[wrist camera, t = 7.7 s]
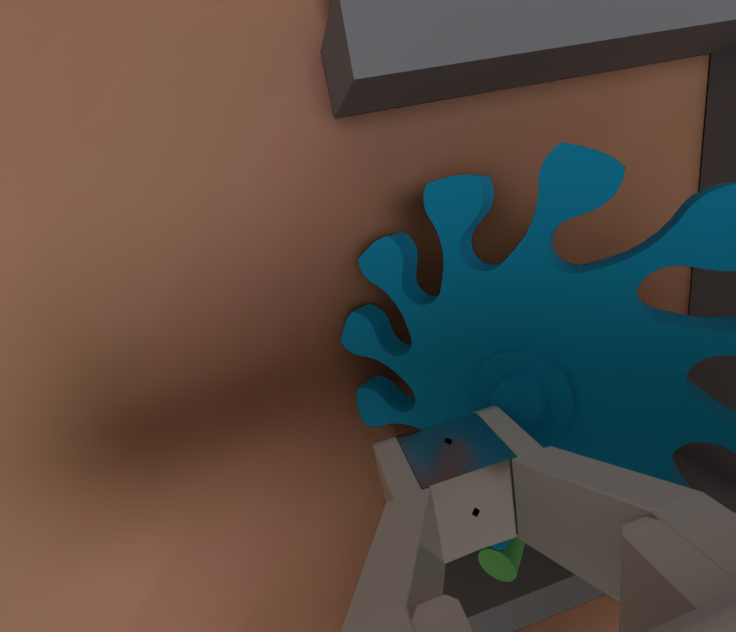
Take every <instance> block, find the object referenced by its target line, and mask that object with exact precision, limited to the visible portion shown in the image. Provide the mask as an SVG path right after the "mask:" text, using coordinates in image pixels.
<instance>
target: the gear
mask: <svg viewBox="0 0 736 632" xmlns="http://www.w3.org/2000/svg"><path fill="white" fill-rule="evenodd" d="M624 171H625V166H623V165H622V164H621V163H620V162H618V161H617V160H616V159H615V158H613V157H611V156H609V155H607V154H605V153H603V152H600V151H597V150H594V149H590V148H587V147H583V146H578V145H572V144H567V143H560V144H559V145H558V146H557V147H555V148H554V149H553V150H552V151H551V152H550V153H549V155H548V156H547V157H546V158H545V160H544V162H543V165H542V167H541V169H540V174H539V195H538V201H537V207H536V211H535V214H534V217H533V220H532V223H531V225H530V227H529V229H528V231H527V233H526V235H525V237H524V238H523V239H522V241H521V242H520V243H519V245H518V246H517V247H516V249H515V250H514V251H513V252H512V253H511V254H510V255H509V256H508V258H507V259H506V260H505V261H504V262H502V263H499V264H489V263H485V262H483V261H481V260H480V259H479V258H478V257H477V256H476V255H475V253H474V251H473V249H472V244H471V241H472V235H473V232H474V231H475V229H476V227H477V226H478V225H479V224H480V222H481V221H482V220H483V219H484V217H485V216H486V215H487V213H488V212H489V210H490V209H491V206H492V204H493V199H494V187H493V184H492V181H491V179H490V178H489V176H485V175H455V176H450V177H446V178H442V179H439V180H436V181H434V182H431V183H428V184H427V185H426V188H425V191H424V198H423V201H424V208H425V210H426V213H427V215H428V217H429V218H430V220H431V222H432V223H433V225H434V227H435V229H436V231H437V233H438V236H439V239H440V242H441V246H442V251H443V261H444V263H443V277H442V284H441V290H440V294H439V296H432V295H429V294H427V293H425V292H424V291H423V290H422V289H421V288H420V287H419V285H418V283H417V279H416V270H417V261H418V252H417V248H416V245H415V243H414V241H413V240H412V238H411V237H410V236H409V235H408V234H406V233H404V232H400V233H396V234H392V235H388V236H386V237H383V238H381V239H379V240H377V241H376V242H374V243H373V244H372V245H371V246H370V247H369V248H368V249H367V250H366V251H365V252H364V253H363V254H362V256H361V257H360V258H359V259H358V261H359V266H360V269H361V271H362V273H363V274H364V276H365V277H366V278H367V279H368V280H369V281H370V282H372V283H374V284H375V285H377V286H378V287H380V288H381V289H382V290H383V291H384V292H386V293H387V294H388V295H389V297H390V298H391V299H392V300H393V301H394V302H395V304H396V305H397V307H398V308H399V310H400V312H401V314H402V316H403V318H404V320H405V323H406V325H407V328H408V330H409V333H410V336H411V345H408V344H405V343H403V342H401V341H400V340H399V339H398V338H397V337H396V336H395V334H394V332H393V329H392V327H391V324H390V322H389V319H388V317H387V315H386V314H385V313H384V311H382V310H381V309H380V308H379V307H377V306H375V305H372V304H367V305H365V306H363V307H361V308H359V309H357V310H355V311H353V312H352V313H351V314H350V315H349V317H348V318H347V320H346V323H345V326H344V329H343V334H342V340H341V343H342V344H343V345H344V347H345V348H346V349H347V350H348V351H350V352H351V353H353V354H355V355H358V356H366V357H369V358H373V359H375V360H377V361H379V362H381V363H383V364H385V365H386V366H388V367H389V368H391V369H392V370H393V371H394V372H395V373H396V374H398V375H399V376H400V377H401V378H402V379H403V380H404V381H405V382H406V383H407V384H408V385H409V386H410V388H411V389H412V391H413V392H414V395H415V398H412V397H409V396H408V395H406V394H405V393H403V392H402V391H401V390H400V389H399V388H398V387H397V386H396V385H395V384H394V383H393V382H392V381H391V380H390V379H388V378H386V377H383V376H374V377H372V378H370V379H369V380H368V381H367V382H366V383H364V384H363V385H362V386H361V387H359V388H358V389H357V404H358V409H359V413H360V416H361V420H362V421H363V422H364V423H365V424H367V425H369V426H372V427H381V426H383V425H386V424H393V423H396V424H405V425H410V426H413V427H416V428H418V429H423V428H427V427H430V426H434V425H437V424H442V423H445V422H448V421H451V420H454V419H457V418H460V417H463V416H467V415H470V414H473V412H476V411H479V410H482V409H485V408H488V407H490V406H493V405H494V406H497V407H499V408H500V409H501V410H502V411H503V412H504V413H505V414H507V415H508V416H509V417H510V418H511V419H512V420H513V421H514V422H515V423H516V424H518V425H519V426H520V427H521V428H522V429H523V430H524V431H525V432H526V433H528V434H529V435H530V436H531V437H532V438H533V439H534V440H535V441H536V442H538V443H539V444H540V445H541V446H542V447H543V448H546V447H549V446H552V447H555V448H559V449H562V450H565V451H569V452H572V453H575V454H578V455H582V456H585V457H588V458H592V459H595V460H598V461H602V462H605V463H608V464H612V465H615V466H618V467H622V468H625V469H628V470H632V471H635V472H638V473H641V474H645V475H648V476H651V477H655V478H658V479H661V480H665V481H668V482H671V483H675V484H678V485H681V486H685V487H688V488H691V489H693V488H692V487H691V486H690V485H689V484H688V483H687V482H686V481H685V479H684V478H683V477H682V475H681V474H680V472H679V471H678V469H677V467H676V465H675V463H674V460H673V458H672V455H673V453H674V452H675V450H677V449H678V448H679V447H681V446H683V445H686V444H689V443H694V442H706V443H713V444H716V445H720V446H723V447H725V448H727V449H729V450H731V451H732V452H734V453H735V454H736V411H735V410H733V409H731V408H729V407H727V406H725V405H723V404H721V403H720V402H718V401H717V400H715V399H714V398H712V397H711V396H709V395H708V394H706V393H705V392H704V391H703V390H701V389H700V388H699V387H698V386H696V385H695V384H694V383H693V382H692V381H690V380H689V379H688V378H687V377H686V375H687V373H688V371H689V370H690V368H691V367H692V366H693V365H694V364H696V363H698V362H699V361H701V360H703V359H706V358H709V357H713V356H719V355H732V356H736V316H732V317H698V316H691V315H683V314H678V313H673V312H668V311H663V310H659V309H655V308H652V307H650V306H648V305H646V304H644V303H643V302H642V301H641V300H640V299H639V297H638V296H637V294H636V292H637V289H638V287H639V285H640V283H641V282H642V281H643V279H644V278H645V277H647V276H648V275H649V274H650V273H652V272H654V271H656V270H658V269H661V268H664V267H668V266H676V265H677V266H689V267H696V268H702V269H709V270H716V271H735V270H736V182H728V183H722V184H716V185H713V186H711V187H708V188H705V189H703V190H701V191H699V192H697V193H696V194H694V195H692V196H691V197H690V198H689V199H688V200H687V201H685V202H684V203H683V204H682V205H681V207H680V208H679V209H678V211H677V212H676V213H675V215H674V216H673V217H672V218H671V220H669V221H668V222H667V223H666V224H665V225H664V226H663V227H662V228H661V229H660V230H659V231H658V232H657V233H655V234H654V235H653V236H651V237H650V238H648V239H647V240H646V241H644V242H643V243H641V244H639V245H637V246H636V247H634V248H632V249H630V250H628V251H626V252H623V253H621V254H618V255H615V256H612V257H610V258H606V259H603V260H599V261H596V262H592V263H589V264H584V265H574V264H570V263H567V262H565V261H563V260H562V259H561V258H560V257H558V255H557V254H556V253H555V251H554V248H553V241H552V240H553V235H554V232H555V230H556V228H557V227H558V226H559V224H560V223H562V222H564V221H566V220H568V219H571V218H574V217H576V216H579V215H582V214H584V213H587V212H590V211H592V210H594V209H597V208H599V207H600V206H602V205H603V204H605V203H606V202H607V201H609V199H610V198H611V197H612V196H613V195H614V194H615V193H616V191H617V190H618V188H619V187H620V185H621V182H622V180H623V177H624ZM524 545H525V542H523V541H521V540H520V539H519V537H515V538H512V539H509V540H506V541H503V542H500V543H497V544H494V545H491V546H488V547H485V548H483V549H480V552H479V555H478V559H479V563H480V565H481V566H482V568H483V569H484V570H485V571H486V572H487V573H488V574H489V575H490V576H492V577H494V578H495V579H498V580H500V581H504V582H511V581H513V580H514V579H515V578H516V576H517V572H518V568H519V564H520V561H521V557H522V553H523V549H524ZM560 566H561V565H560ZM562 567H563V566H562Z"/></svg>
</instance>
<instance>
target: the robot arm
mask: <svg viewBox="0 0 736 632" xmlns="http://www.w3.org/2000/svg"><path fill="white" fill-rule="evenodd" d="M373 452H374V457H375V461H376V465H377V470H378V474H379V478H380V483H381V487H382V491H383V494H384V498H385V502H386V503H385V506H384V509H383V512H382V515H381V517H380V520H379V523H378V526H377V529H376V532H375V535H374V537H373V540H372V543H371V546H370V549H369V552H368V554H367V557H366V560H365V563H364V566H363V569H362V572H361V574H360V577H359V580H358V583H357V586H356V589H355V592H354V594H353V597H352V600H351V603H350V606H349V609H348V612H347V614H346V617H345V620H344V623H343V626H342V629H341V632H473V630H472V628H471V626H470V624H469V622H468V619H467V617H466V615H465V613H464V611H463V609H462V606H461V604H460V602H459V600H458V599H455V598H453V597H450V596H448V595H445V594H444V595H443V585H444V575H445V564H446V563H448V562H451V561H453V560H455V559H458V558H460V557H463V556H465V555H468V554H470V553H472V552H475V551H477V550H480V549H483V548H485V547H488V546H491V545H494V544H497V543H500V542H503V541H506V540H509V539H512V538H515V537H519V539H520V540H521V541H523V542H525V543H526V544H528V545H529V546H531V547H532V548H534V549H536V550H537V551H539V552H540V553H542V554H544V555H545V556H547V557H548V558H550V559H551V560H553V561H555V562H556V563H558V564H559V565H561V566H563V567H564V568H566V569H567V570H569V571H571V572H572V573H574V574H575V575H577V576H578V577H580V578H582V579H583V580H585V581H586V582H588V583H590V584H591V585H593V586H594V587H596V588H597V589H599V590H601V591H602V592H604V593H605V594H607V595H609V596H610V597H612V598H613V599H615V600H616V601H618V602H620V620H619V632H736V514H735V513H733V512H732V511H730V510H729V509H727V508H726V507H724V506H723V505H722V504H720V503H719V502H717V501H716V500H714V499H713V498H711V497H710V496H708V495H707V494H705V493H704V492H701V491H698V490H695V489H691V488H688V487H685V486H681V485H678V484H675V483H671V482H668V481H665V480H661V479H658V478H655V477H651V476H648V475H645V474H641V473H638V472H635V471H632V470H628V469H625V468H622V467H618V466H615V465H612V464H608V463H605V462H602V461H598V460H595V459H592V458H588V457H585V456H582V455H578V454H575V453H572V452H569V451H565V450H562V449H559V448H555V447H552V446H549V447H546V448H543V447H542V446H541V445H540V444H539V443H538V442H536V441H535V440H534V439H533V438H532V437H531V436H530V435H529V434H528V433H526V432H525V431H524V430H523V429H522V428H521V427H520V426H519V425H518V424H516V423H515V422H514V421H513V420H512V419H511V418H510V417H509V416H508V415H507V414H505V413H504V412H503V411H502V410H501V409H500V408H499V407H497V406H494V405H493V406H490V407H488V408H485V409H482V410H479V411H476V412H473V414H470V415H467V416H463V417H460V418H457V419H454V420H451V421H448V422H445V423H442V424H437V425H434V426H430V427H427V428H423V429H420V430H417V431H413V432H410V433H406V434H403V435H399V436H396V437H393V438H390V439H386V440H383V441H380V442H377V443H373Z"/></svg>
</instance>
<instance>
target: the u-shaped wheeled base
mask: <svg viewBox="0 0 736 632" xmlns="http://www.w3.org/2000/svg"><path fill="white" fill-rule="evenodd" d="M705 54H711V61H710V73H709V84H708V96H707V108H706V120H705V131H704V143H703V155H702V167H701V178H700V190H699V191H701V190H703V189H705V188H708V187H711V186H713V185H716V184H722V183H728V182H736V0H332V3H331V8H330V13H329V17H328V22H327V26H326V31H325V35H324V40H323V45H322V49H321V56H322V61H323V66H324V71H325V76H326V81H327V86H328V91H329V96H330V101H331V106H332V111H333V116H334V118H339V117H345V116H351V115H357V114H362V113H368V112H374V111H380V110H386V109H391V108H397V107H403V106H409V105H415V104H420V103H426V102H432V101H438V100H444V99H450V98H455V97H461V96H467V95H473V94H479V93H484V92H490V91H496V90H502V89H508V88H513V87H519V86H525V85H531V84H537V83H542V82H548V81H554V80H560V79H566V78H572V77H577V76H583V75H589V74H595V73H601V72H606V71H612V70H618V69H624V68H630V67H635V66H641V65H647V64H653V63H659V62H665V61H670V60H676V59H682V58H688V57H694V56H699V55H705ZM689 315H691V316H698V317H732V316H736V270H735V271H716V270H709V269H702V268H696V267H693V272H692V284H691V296H690V308H689ZM686 377H687V378H688V379H689V380H690V381H692V382H693V383H694V384H695V385H696V386H698V387H699V388H700V389H701V390H703V391H704V392H705V393H706V394H708V395H709V396H711V397H712V398H714V399H715V400H717V401H718V402H720V403H721V404H723V405H725V406H727V407H729V408H731V409H733V410H735V411H736V356H732V355H719V356H713V357H709V358H706V359H703V360H701V361H699V362H698V363H696V364H694V365H693V366H692V367H691V368H690V370H689V371H688V373H687V375H686ZM672 458H673V460H674V463H675V465H676V467H677V469H678V471H679V472H680V474H681V475H682V477H683V478H684V479H685V481H686V482H687V483H688V484H689V485H690V486H691V487H692V488H693V489H695V490H698V491H701V492H704V493H705V494H707V495H708V496H710V497H711V498H713V499H714V500H716V501H717V502H719V503H720V504H722V505H723V506H724V507H726V508H727V509H729V510H730V511H732V512H733V513H735V514H736V454H735V453H734V452H732V451H731V450H729V449H727V448H725V447H723V446H720V445H716V444H713V443H706V442H694V443H689V444H686V445H683V446H681V447H679V448H678V449H677V450H676V451H675V452H674V453H673V455H672ZM479 552H480V550H477V551H475V552H472V553H470V554H468V555H465V556H463V557H460V558H458V559H455V560H453V561H451V562H448V563H446V564H445V575H444V585H443V595H444V594H445V595H448V596H450V597H453V598H455V599H458V600H459V602H460V604H461V606H462V609H463V611H464V613H465V615H466V617H467V619H468V622H469V624H470V626H471V628H472V630H473V632H515V631H517V630H520V629H522V628H525V627H527V626H530V625H532V624H534V623H537V622H539V621H542V620H544V619H547V618H549V617H552V616H554V615H556V614H559V613H561V612H564V611H566V610H569V609H571V608H573V607H576V606H578V605H581V604H583V603H586V602H588V601H590V600H593V599H595V598H598V597H600V596H603V595H605V593H604V592H602V591H601V590H599V589H597V588H596V587H594V586H593V585H591V584H590V583H588V582H586V581H585V580H583V579H582V578H580V577H578V576H577V575H575V574H574V573H572V572H571V571H569V570H567V569H566V568H564V567H562V566H560V565H559V564H558V563H556V562H555V561H553V560H551V559H550V558H548V557H547V556H545V555H544V554H542V553H540V552H539V551H537V550H536V549H534V548H532V547H531V546H529V545H528V544H526V543H525V545H524V549H523V553H522V557H521V561H520V564H519V568H518V572H517V576H516V578H515V579H514V580H513V581H511V582H504V581H500V580H498V579H495V578H494V577H492V576H490V575H489V574H488V573H487V572H486V571H485V570H484V569H483V568H482V566H481V565H480V563H479V559H478V555H479Z"/></svg>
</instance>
